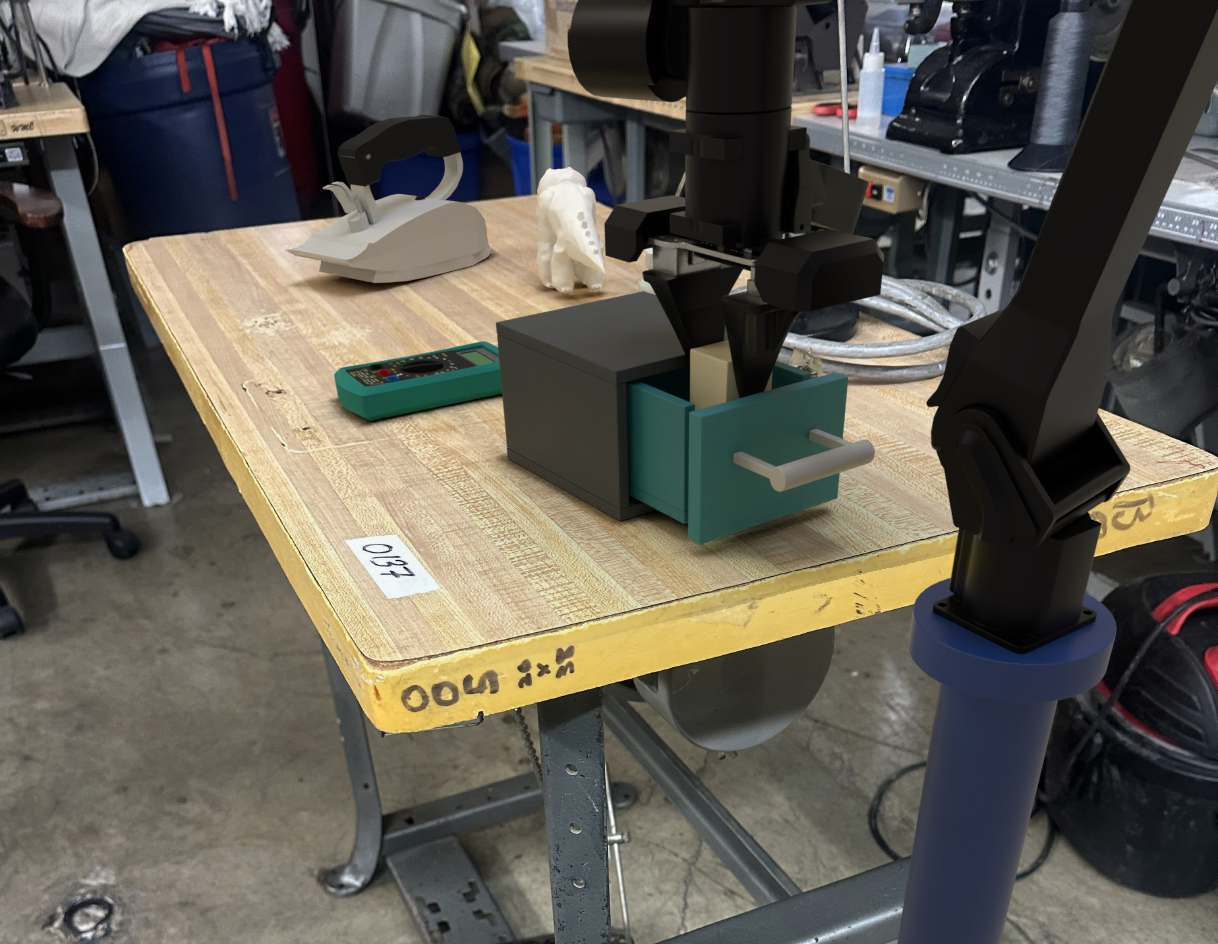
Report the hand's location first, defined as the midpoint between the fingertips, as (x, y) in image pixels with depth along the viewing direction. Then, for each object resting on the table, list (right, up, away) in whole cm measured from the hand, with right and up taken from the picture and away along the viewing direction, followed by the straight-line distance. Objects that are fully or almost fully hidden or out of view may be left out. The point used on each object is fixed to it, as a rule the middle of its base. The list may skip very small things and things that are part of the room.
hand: (730, 399), depth 72 cm
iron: (-31, +37, +63) cm, 79 cm away
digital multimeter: (-23, +9, +26) cm, 35 cm away
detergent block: (0, -1, +1) cm, 1 cm away
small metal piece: (+8, +10, +25) cm, 28 cm away
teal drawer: (0, -5, +4) cm, 7 cm away
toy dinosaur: (-11, +29, +51) cm, 60 cm away
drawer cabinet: (-6, -1, +11) cm, 13 cm away
